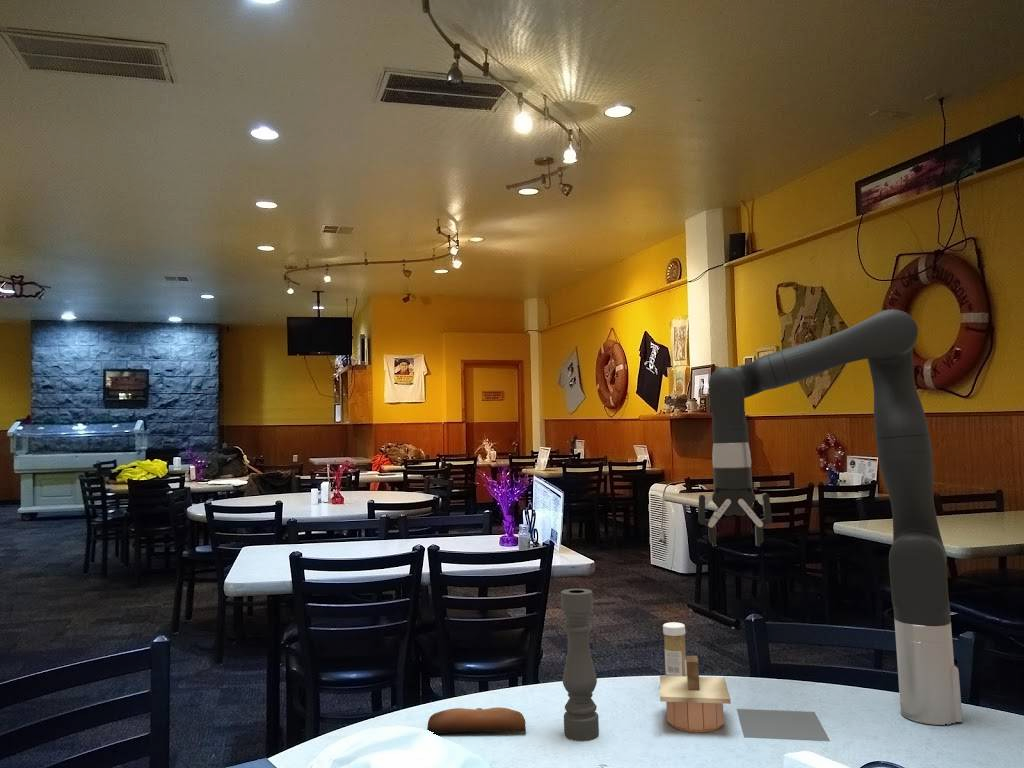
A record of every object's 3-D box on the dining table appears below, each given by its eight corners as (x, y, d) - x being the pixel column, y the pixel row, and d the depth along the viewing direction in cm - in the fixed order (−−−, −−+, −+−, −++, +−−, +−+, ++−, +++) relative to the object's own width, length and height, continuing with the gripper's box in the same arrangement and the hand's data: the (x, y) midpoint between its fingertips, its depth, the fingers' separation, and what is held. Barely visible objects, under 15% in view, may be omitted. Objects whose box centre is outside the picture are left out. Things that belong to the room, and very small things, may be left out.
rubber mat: (814, 714, 141) (814, 711, 141) (830, 743, 127) (830, 741, 128) (736, 711, 144) (736, 708, 144) (744, 739, 130) (744, 737, 130)
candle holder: (603, 730, 136) (598, 589, 138) (592, 743, 131) (587, 595, 133) (571, 725, 139) (566, 587, 141) (559, 738, 133) (554, 593, 135)
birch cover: (724, 681, 143) (723, 650, 143) (730, 703, 131) (728, 669, 132) (660, 680, 145) (658, 649, 146) (660, 701, 133) (658, 667, 134)
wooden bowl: (721, 716, 142) (720, 683, 142) (725, 737, 132) (724, 701, 132) (667, 714, 144) (665, 681, 144) (667, 734, 134) (665, 699, 134)
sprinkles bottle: (692, 689, 157) (689, 623, 158) (680, 695, 154) (676, 627, 155) (673, 685, 160) (670, 620, 161) (661, 690, 157) (658, 624, 158)
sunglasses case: (527, 717, 144) (526, 692, 141) (527, 750, 137) (525, 724, 134) (433, 719, 144) (430, 694, 141) (429, 751, 138) (425, 726, 135)
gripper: (765, 463, 156) (770, 543, 155) (695, 465, 159) (698, 543, 158) (770, 465, 149) (775, 548, 148) (696, 466, 152) (700, 548, 150)
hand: (735, 545), depth 153 cm, fingers open, 8 cm apart
